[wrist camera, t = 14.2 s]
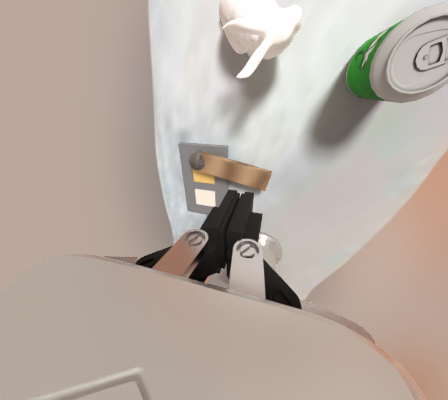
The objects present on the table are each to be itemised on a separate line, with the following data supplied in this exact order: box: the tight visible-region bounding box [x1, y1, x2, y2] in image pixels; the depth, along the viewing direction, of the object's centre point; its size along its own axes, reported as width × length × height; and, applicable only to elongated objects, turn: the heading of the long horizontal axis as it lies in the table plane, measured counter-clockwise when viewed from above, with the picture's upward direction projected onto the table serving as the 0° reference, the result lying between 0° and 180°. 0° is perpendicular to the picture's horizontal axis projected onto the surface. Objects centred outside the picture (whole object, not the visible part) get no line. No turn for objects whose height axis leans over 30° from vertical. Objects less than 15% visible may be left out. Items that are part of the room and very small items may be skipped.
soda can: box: [346, 3, 448, 103], centre depth 21 cm, size 8×8×12 cm
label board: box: [179, 142, 228, 214], centre depth 43 cm, size 18×11×2 cm, turn 1°
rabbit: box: [219, 0, 302, 79], centre depth 23 cm, size 12×9×12 cm
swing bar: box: [188, 151, 272, 191], centre depth 37 cm, size 17×4×2 cm, turn 79°
